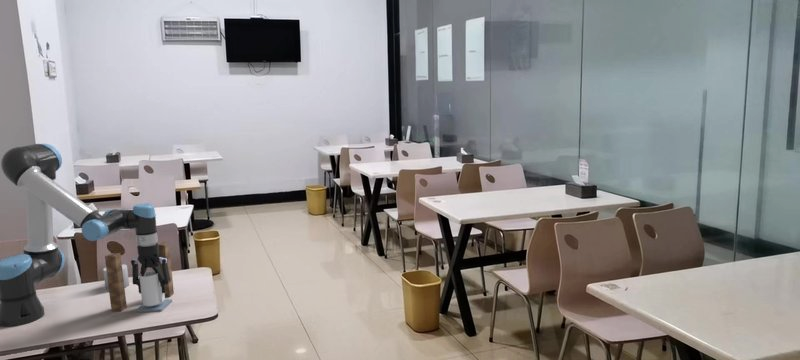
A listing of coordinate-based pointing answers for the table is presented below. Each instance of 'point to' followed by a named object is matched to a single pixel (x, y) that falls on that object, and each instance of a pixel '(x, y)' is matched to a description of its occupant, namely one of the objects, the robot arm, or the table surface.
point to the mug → (150, 288)
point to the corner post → (115, 281)
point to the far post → (165, 253)
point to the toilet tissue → (125, 277)
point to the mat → (154, 307)
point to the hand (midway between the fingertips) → (153, 300)
